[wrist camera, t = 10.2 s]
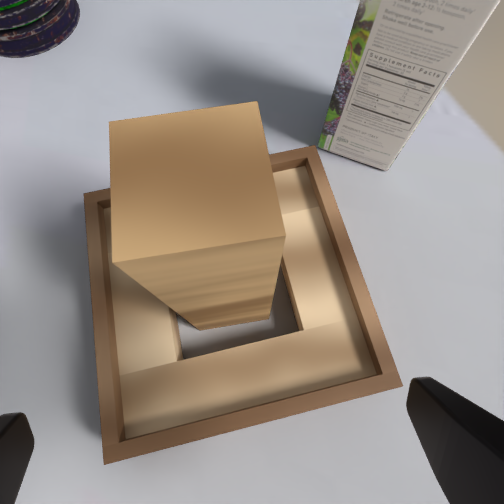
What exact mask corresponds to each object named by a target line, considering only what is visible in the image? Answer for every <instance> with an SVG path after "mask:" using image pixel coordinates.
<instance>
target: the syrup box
mask: <svg viewBox="0 0 504 504" xmlns="http://www.w3.org/2000/svg"><path fill="white" fill-rule="evenodd" d="M499 2H500V0H360V3H359V6H358V10H357V13H356V16H355V20H354V23H353V26H352V30H351V33H350V37H349V40H348V43H347V47H346V50H345V54H344V57H343V61H342V64H341V68H340V71H339V74H338V77H337V81H336V84H335V88H334V91H333V95H332V98H331V102H330V105H329V109H328V112H327V116H326V119H325V122H324V126H323V129H322V133H321V136H320V139H319V143H318V147H319V148H321V149H324V150H327V151H329V152H332V153H335V154H338V155H341V156H344V157H346V158H349V159H352V160H355V161H358V162H361V163H364V164H367V165H370V166H373V167H376V168H379V169H382V170H385V171H387V170H388V169H389V168H390V166H391V165H392V163H393V162H394V160H395V159H396V157H397V156H398V154H399V153H400V151H401V150H402V148H403V147H404V145H405V144H406V142H407V141H408V139H409V138H410V136H411V135H412V133H413V132H414V130H415V129H416V127H417V126H418V124H419V123H420V121H421V120H422V118H423V117H424V115H425V114H426V112H427V111H428V109H429V108H430V106H431V105H432V103H433V102H434V100H435V98H436V97H437V95H438V94H439V92H440V91H441V89H442V88H443V86H444V85H445V83H446V82H447V80H448V79H449V77H450V76H451V75H452V73H453V72H454V70H455V69H456V67H457V66H458V64H459V63H460V61H461V60H462V58H463V57H464V55H465V53H466V52H467V50H468V49H469V47H470V46H471V44H472V43H473V42H474V40H475V38H476V37H477V36H478V34H479V33H480V31H481V29H482V28H483V26H484V25H485V23H486V22H487V20H488V19H489V17H490V16H491V14H492V13H493V11H494V10H495V8H496V7H497V5H498V3H499Z"/></svg>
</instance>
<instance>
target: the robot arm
mask: <svg viewBox="0 0 504 504" xmlns="http://www.w3.org/2000/svg"><path fill="white" fill-rule="evenodd" d="M406 406H407V412H408V415H409V417H410V419H411V422H412V424H413V426H414V428H415V431H416V433H417V435H418V438H419V440H420V442H421V445H422V447H423V449H424V452H425V454H426V456H427V459H428V461H429V463H430V466H431V468H432V470H433V472H434V474H435V477H436V479H437V481H438V483H439V485H440V486H441V488H442V490H443V492H444V494H445V496H446V498H447V500H448V501H449V503H450V504H504V421H503V420H501V419H499V418H498V417H496V416H494V415H493V414H491V413H489V412H488V411H486V410H484V409H483V408H481V407H479V406H478V405H476V404H474V403H473V402H471V401H469V400H468V399H466V398H464V397H463V396H461V395H459V394H458V393H456V392H454V391H453V390H451V389H449V388H448V387H446V386H444V385H443V384H441V383H439V382H438V381H436V380H434V379H433V378H431V377H418V378H413V379H412V380H411V383H410V387H409V392H408V397H407V403H406ZM33 449H34V436H33V434H32V431H31V428H30V425H29V422H28V420H27V417H26V415H25V414H24V413H21V412H19V413H8V414H3V415H1V416H0V504H15V501H16V498H17V495H18V492H19V489H20V487H21V484H22V481H23V478H24V475H25V472H26V469H27V467H28V464H29V461H30V458H31V455H32V452H33Z"/></svg>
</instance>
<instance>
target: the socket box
mask: <svg viewBox="0 0 504 504" xmlns="http://www.w3.org/2000/svg"><path fill="white" fill-rule="evenodd" d="M269 158H270V163H271V167H272V172H273V177H274V181H275V186H276V191H277V195H278V200H279V205H280V209H281V214H282V219H283V223H284V228H285V233H286V238H285V243H284V248H283V253H282V258H281V262H280V265H281V268H282V272H283V275H284V279H285V283H286V286H287V290H288V293H289V297H290V300H291V304H292V308H293V311H294V315H295V318H296V322H297V325H298V329H299V331H298V332H294V333H290V334H286V335H282V336H278V337H274V338H270V339H266V340H262V341H258V342H254V343H250V344H246V345H242V346H238V347H234V348H229V349H225V350H221V351H217V352H213V353H209V354H205V355H201V356H197V357H193V358H189V359H185V360H183V354H182V347H181V341H180V335H179V329H178V322H177V316H176V312H175V311H174V310H173V309H171V308H170V307H169V306H168V305H166V304H165V303H164V302H162V301H161V300H160V299H159V298H157V297H156V296H155V295H153V294H152V293H151V292H149V291H148V290H147V289H146V288H144V287H143V286H142V285H140V284H139V283H138V282H137V281H135V280H134V279H133V278H131V277H130V276H129V275H127V274H126V273H125V272H124V271H122V270H121V269H120V268H118V267H117V266H116V265H115V264H113V263H112V233H111V188H108V189H103V190H98V191H94V192H89V193H84V206H85V220H86V233H87V247H88V260H89V273H90V287H91V300H92V314H93V327H94V340H95V354H96V367H97V381H98V394H99V407H100V421H101V434H102V448H103V461H104V465H106V464H109V463H113V462H117V461H121V460H125V459H128V458H132V457H136V456H140V455H144V454H147V453H151V452H155V451H159V450H163V449H166V448H170V447H174V446H178V445H182V444H185V443H189V442H193V441H197V440H201V439H204V438H208V437H212V436H216V435H220V434H223V433H227V432H231V431H235V430H239V429H242V428H246V427H250V426H254V425H258V424H261V423H265V422H269V421H273V420H277V419H280V418H284V417H288V416H292V415H296V414H299V413H303V412H307V411H311V410H315V409H318V408H322V407H326V406H330V405H334V404H337V403H341V402H345V401H349V400H353V399H356V398H360V397H364V396H368V395H372V394H375V393H379V392H383V391H387V390H391V389H394V388H398V387H402V386H403V385H402V382H401V379H400V376H399V374H398V371H397V368H396V365H395V363H394V360H393V357H392V354H391V352H390V349H389V346H388V343H387V341H386V338H385V335H384V332H383V330H382V327H381V324H380V321H379V319H378V316H377V313H376V310H375V308H374V305H373V302H372V299H371V297H370V294H369V291H368V288H367V286H366V283H365V280H364V277H363V275H362V272H361V269H360V267H359V264H358V261H357V258H356V256H355V253H354V250H353V247H352V245H351V242H350V239H349V236H348V234H347V231H346V228H345V225H344V223H343V220H342V217H341V214H340V212H339V209H338V206H337V203H336V201H335V198H334V195H333V192H332V190H331V187H330V184H329V181H328V179H327V176H326V173H325V170H324V168H323V165H322V162H321V159H320V157H319V154H318V151H317V148H316V146H315V145H313V146H309V147H304V148H299V149H294V150H289V151H285V152H280V153H275V154H270V155H269Z"/></svg>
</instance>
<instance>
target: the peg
mask: <svg viewBox="0 0 504 504" xmlns="http://www.w3.org/2000/svg"><path fill="white" fill-rule="evenodd" d="M109 140H110V186H111V233H112V263H113V264H115V265H116V266H117V267H118V268H120V269H121V270H122V271H124V272H125V273H126V274H127V275H129V276H130V277H131V278H133V279H134V280H135V281H137V282H138V283H139V284H140V285H142V286H143V287H144V288H146V289H147V290H148V291H149V292H151V293H152V294H153V295H155V296H156V297H157V298H159V299H160V300H161V301H162V302H164V303H165V304H166V305H168V306H169V307H170V308H171V309H173V310H174V311H175V312H177V313H178V314H179V315H180V316H182V317H183V318H184V319H186V320H187V321H188V322H190V323H191V324H192V325H193V326H195V327H196V328H197V329H199V330H206V329H212V328H218V327H224V326H230V325H236V324H242V323H248V322H254V321H260V320H266V319H269V316H270V311H271V306H272V301H273V296H274V292H275V287H276V282H277V277H278V272H279V267H280V262H281V258H282V253H283V248H284V243H285V238H286V233H285V228H284V223H283V219H282V214H281V209H280V205H279V200H278V195H277V191H276V186H275V181H274V177H273V172H272V167H271V163H270V158H269V153H268V149H267V144H266V139H265V135H264V130H263V125H262V121H261V116H260V111H259V107H258V102H257V101H254V102H247V103H240V104H233V105H226V106H218V107H211V108H204V109H197V110H190V111H183V112H175V113H168V114H161V115H154V116H147V117H140V118H132V119H125V120H118V121H111V122H109Z"/></svg>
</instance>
